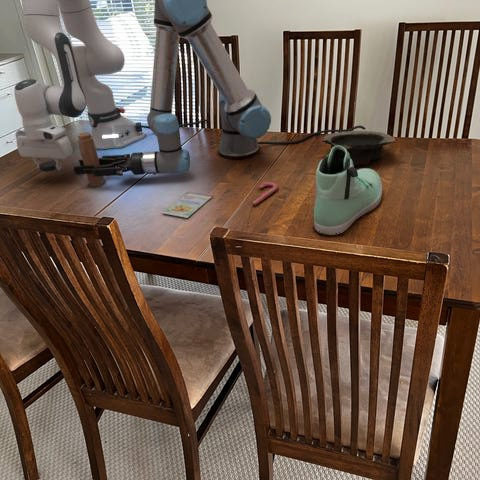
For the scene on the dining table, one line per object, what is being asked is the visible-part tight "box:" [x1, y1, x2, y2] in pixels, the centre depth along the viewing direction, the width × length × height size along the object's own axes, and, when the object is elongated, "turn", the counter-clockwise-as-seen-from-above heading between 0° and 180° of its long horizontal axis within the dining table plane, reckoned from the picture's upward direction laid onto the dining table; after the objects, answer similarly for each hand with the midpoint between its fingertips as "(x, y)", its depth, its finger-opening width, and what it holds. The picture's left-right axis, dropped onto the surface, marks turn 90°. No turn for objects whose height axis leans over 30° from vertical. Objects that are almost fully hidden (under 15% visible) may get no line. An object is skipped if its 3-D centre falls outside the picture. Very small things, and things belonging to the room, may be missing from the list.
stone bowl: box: [321, 130, 396, 167], centre depth 169 cm, size 25×25×9 cm
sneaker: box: [313, 146, 383, 236], centre depth 133 cm, size 14×35×20 cm, turn 152°
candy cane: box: [252, 181, 279, 206], centre depth 150 cm, size 6×15×2 cm, turn 145°
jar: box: [76, 131, 105, 188], centre depth 163 cm, size 5×5×18 cm
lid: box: [39, 160, 56, 173], centre depth 168 cm, size 6×6×2 cm
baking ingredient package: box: [162, 192, 212, 218], centre depth 147 cm, size 9×1×15 cm
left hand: (50, 169), depth 168 cm, fingers closed on lid, 6 cm apart
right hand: (77, 167), depth 164 cm, fingers closed on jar, 5 cm apart
